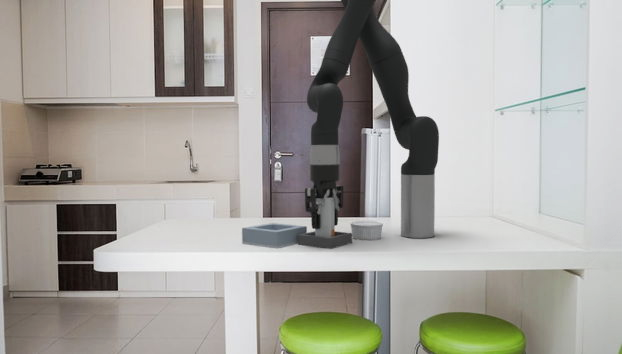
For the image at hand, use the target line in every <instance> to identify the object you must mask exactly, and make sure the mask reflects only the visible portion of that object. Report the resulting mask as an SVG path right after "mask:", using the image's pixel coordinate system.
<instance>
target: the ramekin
mask: <svg viewBox="0 0 622 354" xmlns="http://www.w3.org/2000/svg"><path fill="white" fill-rule="evenodd" d="M383 224H384V223H383V222H382V221H378V220H353V221H351V222H350V229H351V233H352V239H354V240H357V239H359V241H378V240H379V239H381V238H382V232H383V231H382V230H383Z"/></svg>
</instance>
